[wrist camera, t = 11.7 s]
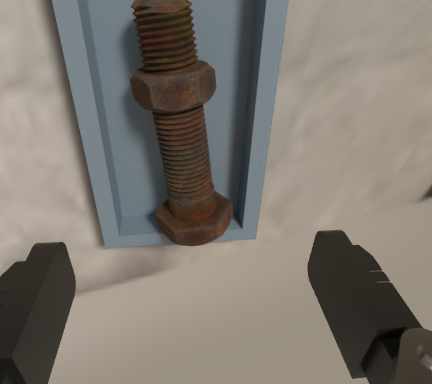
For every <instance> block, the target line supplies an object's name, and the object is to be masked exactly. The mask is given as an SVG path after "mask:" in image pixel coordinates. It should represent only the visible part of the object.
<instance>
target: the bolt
mask: <svg viewBox="0 0 432 384" xmlns="http://www.w3.org/2000/svg"><path fill="white" fill-rule="evenodd" d="M191 5H192V3H191V2H190V1H188V0H134V2H133V4H132V5H131V8H133V9H134V10H135V11H134V12H133V13H132V15H134V16H135V17H136V18H135V19H134V20H133V21H134V22H135V23H136V24H138V25H137V26H136V27H135V29H137V30H138V31H139V32H138V33H137V34H136V35H137V36H138V37H139V38H140V39H139V40H138V41H137V42H139V43H140V44H141V46H140V47H139V49H140V50H141V51H143V52H142V53H141V54H140V55H141V56H142V57H144V58H143V60H142V62H143V63H144V64H145V65H144V66H143V67H141V68H139V69H137V70H136V71H135V72H134V74H133V76H132V77H131V79H130V84H131V88H132V92H133V97H134V99H135V101H136V102H137V103H138V104H139V105H140V106H141V107H142V108H144V109H146V110H148V111H153V112H152V115H153V116H154V117H153V120H154V121H155V122H154V125H155V126H156V128H155V130H156V131H157V132H156V135H157V136H158V138H157V140H158V141H159V143H158V144H159V146H160V147H159V149H160V154H161V157H162V162H163V167H164V173H165V178H166V184H167V189H168V190H167V195H168V199H167V200H166V201H165V202H164V203H163V205H162V206H161V207H160V208H159V209H158V210H157V211H156V212H155V213H154V214H155V218H156V222H157V225H158V227H159V228H160V230H161V231H162V232H163V234H164V235H165V236H166V237H167V238H168V239H169V240H170V241H171V242H173V243H175V244H178V245H185V246H198V245H204V244H206V243H209V242H212V241H214V240H216V239H218V238H219V237H221V236H222V235H223V234H224V233H225V231H226V230H227V228H228V226H229V224H230V222H231V219H232V216H233V202H231V201H230V200H228V199H227V198H225V197H224V196H222V195H221V194H219V193H218V192H216V191H215V188H214V184H213V182H212V174H211V165H210V156H209V147H208V142H207V141H208V139H207V132H206V131H207V129H206V124H205V118H204V116H205V114H204V108H203V104H205V103H206V102H208V101H209V100H210V99H211V98H212V96H213V95H214V93H215V91H216V89H217V87H216V75H215V69H214V68H213V67H211V66H210V65H209V64H208V63H207V62H205V61H203V60H198V56H197V55H196V53H197V50H196V49H194V48H195V47H196V46H197V44H196V43H194V41H195V40H196V38H195V37H194V36H193V34H194V33H195V31H194V30H193V29H192V28H193V26H194V24H193V23H192V22H191V21H192V20H193V18H194V17H192V16H191V15H190V14H191V13H192V12H193V10H192V9H190V8H189V7H190V6H191Z"/></svg>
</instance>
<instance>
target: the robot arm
mask: <svg viewBox="0 0 432 384" xmlns="http://www.w3.org/2000/svg"><path fill="white" fill-rule="evenodd" d="M308 277H309V281H310V283H311V285H312V288H313V290H314V292H315V295H316V297H317V299H318V301H319V304H320V306H321V308H322V311H323V313H324V315H325V317H326V320H327V322H328V324H329V327H330V329H331V331H332V333H333V336H334V338H335V340H336V343H337V345H338V347H339V349H340V351H341V354H342V356H343V359H344V361H345V363H346V365H347V368H348V370H349V372H350V375H351V377H352V379H353V378H363V377H367V379H368V382H369V384H432V331H430V330H427V329H424V328H423V327H422V326H421V325H420V323H419V322H418V321H417V319H416V318H415V316H414V315H413V313H412V312H411V310H410V309H409V307H408V306H407V305H406V303H405V302H404V300H403V299H402V297H401V296H400V295H399V293H398V292H397V290H396V289H395V287H394V286H393V284H392V283H390V282H389V279H388V277H387V276H386V274H385V273H384V272H382V269H381V267H380V266H379V264H378V263H377V262H376V260H375V259H374V258H373V256H372V255H371V254H369V253H368V252H367V251H366V250H364V249H363V248H362V247H361V246H359V245H352V243H351V242H350V240H349V239H348V237H347V235H346V234H345V233H344V232H343V231H342V230H332V231H318V232H317V234H316V236H315V240H314V243H313V247H312V251H311V254H310V258H309V262H308ZM75 287H76V281H75V275H74V271H73V268H72V265H71V261H70V258H69V255H68V251H67V248H66V245H65V244H64V243H63V242H53V243H36V244H35V245H34V246H33V247H32V249H31V251H30V253H29V255H28V257H27V259H26V261H21V262H15V263H14V264H13V265H12V266H11V267H10V268H9V269H8V270H7V271H6V272H5V273H3V274H2V275H1V277H0V384H48V381H49V378H50V374H51V371H52V368H53V364H54V361H55V357H56V355H57V351H58V348H59V345H60V341H61V338H62V335H63V331H64V328H65V324H66V322H67V318H68V315H69V312H70V308H71V305H72V302H73V298H74V295H75Z"/></svg>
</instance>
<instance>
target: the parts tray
mask: <svg viewBox="0 0 432 384" xmlns="http://www.w3.org/2000/svg"><path fill="white" fill-rule="evenodd" d="M188 1H190V2H191V3H192V5H191V6H190V7H189V8H190V9H192V10H193V12H192V13H191V14H190V15H191V16H192V17H194V18H193V20H192V21H191V22H192V23H193V24H194V26H193V28H192V29H193V30H194V31H195V33H194V34H193V36H194V37H195V38H196V40H195V41H194V43H196V44H197V46H196V47H195V48H194V49H196V50H197V53H196V55H197V56H198V60H203V61H205V62H207V63H208V64H209V65H210V66H211V67H213V68H214V69H215V75H216V87H217V89H216V91H215V93H214V95H213V96H212V98H211V99H210V100H209V101H208V102H206V103H205V104H203V108H204V114H205V116H204V118H205V124H206V129H207V131H206V132H207V139H208V141H207V142H208V147H209V156H210V165H211V174H212V182H213V184H214V188H215V191H216V192H218V193H219V194H221V195H222V196H224V197H225V198H227V199H228V200H230V201H231V202H233V216H232V219H231V222H230V224H229V226H228V228H227V230H226V231H225V233H224V234H223V235H222V236H221V237H219V238H218V239H216V240H214V241H212V242H219V241H235V240H251V239H256V234H257V226H258V219H259V212H260V205H261V197H262V190H263V183H264V175H265V168H266V161H267V154H268V146H269V139H270V132H271V124H272V117H273V110H274V103H275V95H276V88H277V81H278V73H279V66H280V59H281V52H282V44H283V37H284V30H285V22H286V15H287V8H288V1H289V0H188ZM133 2H134V0H52V3H53V8H54V13H55V17H56V22H57V27H58V31H59V36H60V41H61V45H62V50H63V55H64V59H65V64H66V68H67V73H68V78H69V82H70V87H71V92H72V96H73V101H74V106H75V110H76V115H77V120H78V124H79V129H80V134H81V138H82V143H83V147H84V152H85V157H86V161H87V166H88V171H89V175H90V180H91V185H92V189H93V194H94V199H95V203H96V208H97V212H98V217H99V222H100V226H101V231H102V236H103V240H104V245H105V249H106V248H122V247H138V246H155V245H171V244H175V243H173V242H171V241H170V240H169V239H168V238H167V237H166V236H165V235H164V234H163V232H162V231H161V230H160V228H159V227H158V225H157V222H156V218H155V214H154V213H155V212H156V211H157V210H158V209H159V208H160V207H161V206H162V205H163V203H164V202H165V201H166V200H167V199H168V195H167V190H168V189H167V184H166V178H165V173H164V167H163V162H162V157H161V154H160V149H159V147H160V146H159V144H158V143H159V141H158V140H157V138H158V136H157V135H156V132H157V131H156V130H155V128H156V126H155V125H154V122H155V121H154V120H153V117H154V116H153V115H152V112H153V111H148V110H146V109H144V108H142V107H141V106H140V105H139V104H138V103H137V102H136V101H135V99H134V97H133V92H132V88H131V84H130V79H131V77H132V76H133V74H134V72H135V71H136V70H137V69H139V68H141V67H143V66H144V65H145V64H144V63H143V62H142V60H143V58H144V57H142V56H141V55H140V54H141V53H142V52H143V51H141V50H140V49H139V47H140V46H141V44H140V43H139V42H137V41H138V40H139V39H140V38H139V37H138V36H137V35H136V34H137V33H138V32H139V31H138V30H137V29H135V27H136V26H137V25H138V24H136V23H135V22H134V21H133V20H134V19H135V18H136V17H135V16H134V15H132V13H133V12H134V11H135V10H134V9H133V8H131V5H132V4H133Z"/></svg>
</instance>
